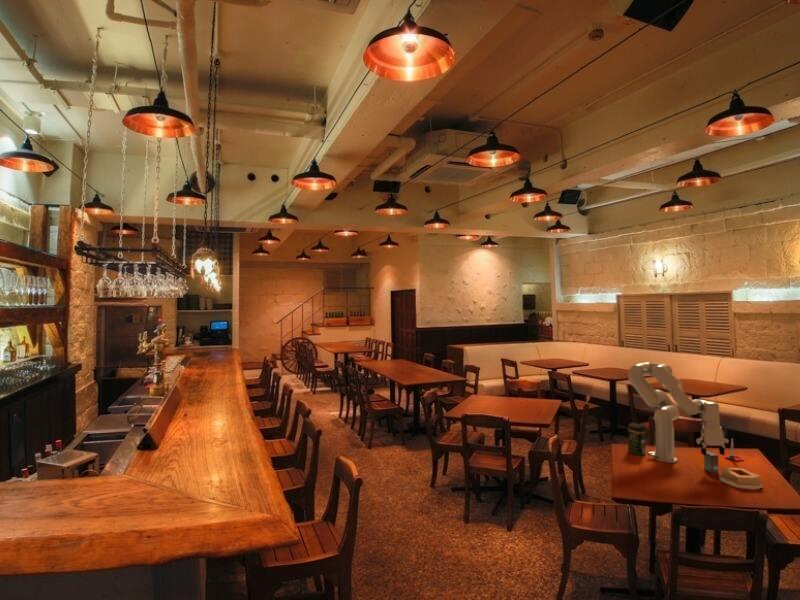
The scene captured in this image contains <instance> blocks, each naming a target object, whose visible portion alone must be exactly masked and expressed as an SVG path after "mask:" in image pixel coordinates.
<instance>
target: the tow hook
mask: <svg viewBox="0 0 800 600" xmlns="http://www.w3.org/2000/svg"><path fill="white" fill-rule="evenodd" d="M724 456H725V455H724ZM724 458H725V459H726V460H729V461H733V462H736V463H737V462H744V461H745V459H744V458H743V457H742V456H739V455H735V454H734V438H731V442H730V454H727V455H726V456H725V457H724ZM739 458H740V459H739Z"/></svg>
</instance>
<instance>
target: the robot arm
mask: <svg viewBox="0 0 800 600" xmlns="http://www.w3.org/2000/svg"><path fill="white" fill-rule="evenodd" d="M648 376H650V377H654V378H655V379H656V380H657V382H659V383H660V385H662V386H663V387H664V388H665V389H666V390H667V391H668V393H669V394H670V396H671V397H672V399H673V400H672V399H671V398H670V397H669V396H668V394H667V393H666V392H665V391H663V390H661V389H655V388H653V387H652V386H651V384H650V383H649V381H647V380H646V379H645V377H648ZM627 377H628V378H627V379H628V381H629V382H630V384H631V386H633V388H634V389H635V390H636V392H637V393H638V395H639V396H640V397H641V398H642V400H643V401H644V402H645V403H646V405H647V406H649V407H650V408H655V407H657V409H656V410H655V412H654V414H653V417H654V418H653V419H654V423H655V449H654V450H653V451H647V452H646V453H647V455H648V456H651V457H652V458H653V459H654V460H655V459H656V460H655V461H658V462H662V463H667V464H668V463H671V464H673V463H677V462H678V458H677V457H676V456H675V430H674V428H675V427H674V424H673V421H676V420H677V419H678V418H680V410H679V409H678V407H677V406H679V408H681V410H683V411H684V412H685V413H687V414H688V415H691V416H692V415H697V414H700V413H702V419H703V420H702V422H701V423H700V424H701V425H702V427H701V435H700V436H701V437H698V438H696V439H695V442H696V443H697V445H698V446H699V447H700V453H701V455H703V456H704V455H705V456H706V452H707V448H706V447H707V446H710V447H711V446H712V447H713V446H719V447H718V448H719V449H718V451H719V453H718V454H719V455H722V456H725V453H726V452H725V449H726V447H727V446H728V444H729V441H730V440H729V439H728V438H725V436H724V431H723V428H722V426H721V423H720V420H721V419H720V405H719V403H718V402H716V401H710V400H709V401H707V400H703V399H700V398H699V399H698V398H694V399H691V398H690V397H689V396H688V395H687V394H686V393H685V391H684V390H683V383H682V382H681V381H680V380H679V379H678V378H677V377H676V376H675V375H673V368H672V367H671V366H670V365H668V364H666V363H659V362H658V363H656V362H648V361H647V362H646V361H645V362H639V363H635V364H633V365H631V366H630V368H629V369H628V372H627ZM673 401H674V402H675V403H676V404H675V403H674V402H673ZM676 405H677V406H676Z"/></svg>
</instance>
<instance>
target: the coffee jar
mask: <svg viewBox="0 0 800 600" xmlns="http://www.w3.org/2000/svg"><path fill="white" fill-rule="evenodd" d="M627 432H628V446H627V452H628V451H629V452H628V453H630V452H631V453H630V454H632V453H633V455H635V454H636V456H644V454H645V455H646V453H647V451H646V440H645V439H646V436H645V435H646V432H647V431H646V426H645V425H643V424H640V423H639V424H638V423H636V422H635V423H634V422H629V423H628V427H627Z"/></svg>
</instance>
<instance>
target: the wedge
mask: <svg viewBox="0 0 800 600" xmlns="http://www.w3.org/2000/svg"><path fill="white" fill-rule="evenodd" d="M703 457H704V458H703V461H704V462H703V467H704V468H703V469H704V470H705V471H706V470H707V472H708V473H710V474H719V455H718V454H716V453H715V452H713V451H706V456H705V455H703Z"/></svg>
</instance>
